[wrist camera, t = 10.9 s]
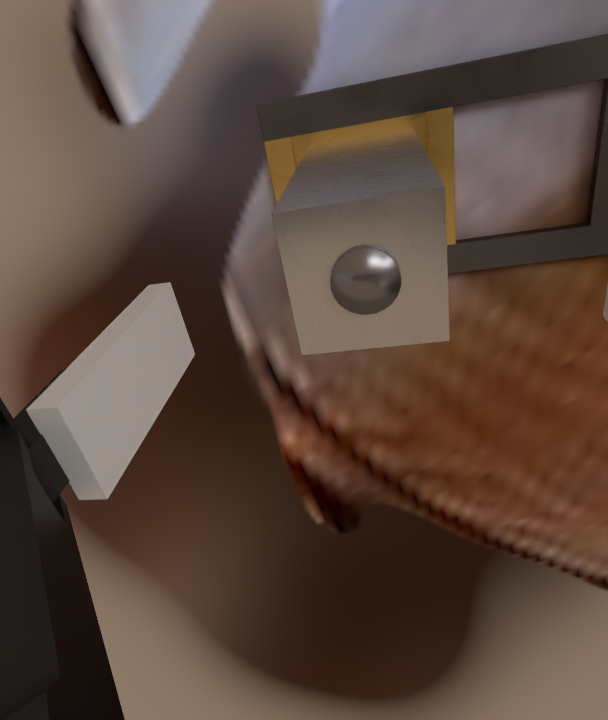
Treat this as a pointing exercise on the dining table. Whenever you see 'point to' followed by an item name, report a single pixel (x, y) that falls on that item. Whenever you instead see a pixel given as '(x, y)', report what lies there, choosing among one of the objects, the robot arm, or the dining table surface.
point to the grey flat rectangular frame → (452, 137)
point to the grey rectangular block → (365, 245)
